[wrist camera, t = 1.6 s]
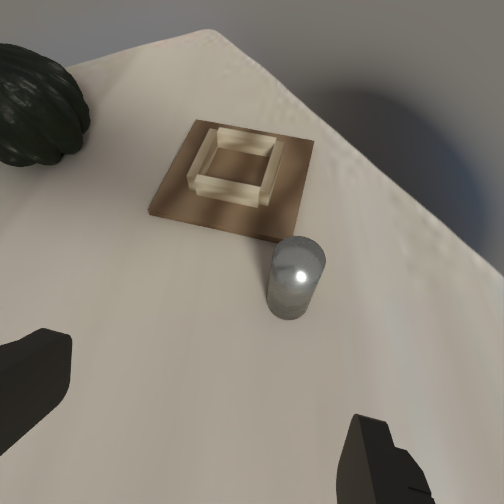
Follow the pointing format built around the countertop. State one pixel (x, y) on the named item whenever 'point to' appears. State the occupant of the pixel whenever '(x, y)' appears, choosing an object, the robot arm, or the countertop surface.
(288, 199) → the socket board
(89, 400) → the countertop surface
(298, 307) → the steel cylinder
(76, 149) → the squash
